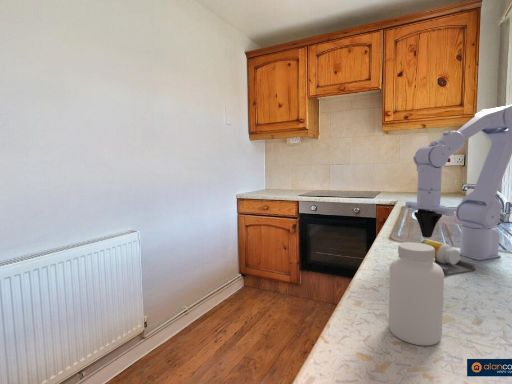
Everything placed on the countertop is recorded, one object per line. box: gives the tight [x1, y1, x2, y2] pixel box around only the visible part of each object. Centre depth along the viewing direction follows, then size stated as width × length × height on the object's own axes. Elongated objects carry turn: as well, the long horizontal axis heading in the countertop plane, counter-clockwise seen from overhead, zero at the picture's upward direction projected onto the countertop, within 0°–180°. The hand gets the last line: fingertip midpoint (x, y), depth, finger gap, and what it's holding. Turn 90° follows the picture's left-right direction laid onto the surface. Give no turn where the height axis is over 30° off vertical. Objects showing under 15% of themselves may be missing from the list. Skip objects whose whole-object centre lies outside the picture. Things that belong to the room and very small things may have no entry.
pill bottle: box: [387, 241, 445, 347], centre depth 50 cm, size 8×8×15 cm
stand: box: [434, 259, 476, 277], centre depth 81 cm, size 10×11×2 cm
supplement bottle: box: [419, 238, 461, 265], centre depth 84 cm, size 5×5×10 cm
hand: (426, 236), depth 85 cm, fingers closed
